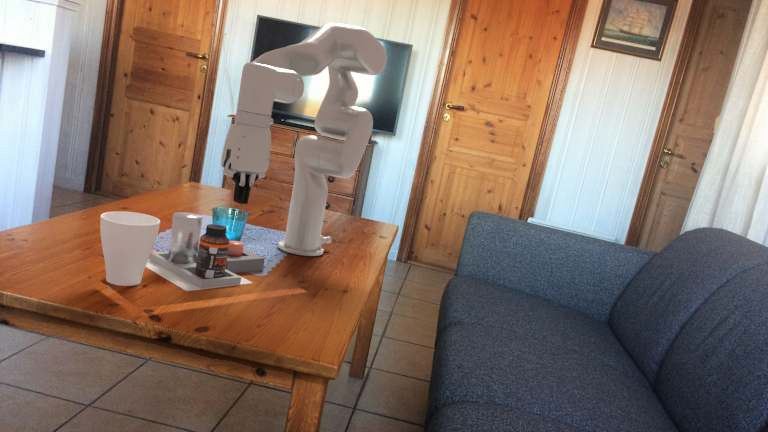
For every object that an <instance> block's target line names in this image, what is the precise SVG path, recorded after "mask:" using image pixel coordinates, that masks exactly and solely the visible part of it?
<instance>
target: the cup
mask: <svg viewBox="0 0 768 432" xmlns="http://www.w3.org/2000/svg"><path fill="white" fill-rule="evenodd" d="M99 217H100V220H99V223H100V225H99V230H100V231H99V232H100V240H101V248H102V253H103V258H104V265H105V280H106V282H107V283H109V284H110V285H115V286H122V287H123V286H124V287H129V286H130V287H132V286H137V285H140V284H141V283H142V278H143V274H144V272H145V269H146V268H147V267H146V264H147V261H148V259H150V257H151V253H153V250H154V246H155V244H156V240H157V238H158V235H159V230H160V225H161V220H160V219H159V218H158V217H156V216H153V215H150V214H146V213H141V212H133V211H117V210H116V211H106V212H103V213H101V214H100V216H99ZM105 286H106V287H107V288H108V289H110V290H114V289H113V288H112V287H111V286H109V285H107V284H106V285H105Z"/></svg>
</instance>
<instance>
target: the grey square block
mask: <svg viewBox="0 0 768 432" xmlns="http://www.w3.org/2000/svg"><path fill="white" fill-rule="evenodd" d="M265 259H266V258H265V257H263V256H261V255H259V254H257V253H255V252H252V251H250V250H248V249H247V248H243V255H242V256H239V257H230V256H228V255H227V261H226V268H225V269H226V270H228V271H230V272H232V273H235V274H237V273H239V274H240V273H246V272H257V271H258V272H259V271H264V266H265Z"/></svg>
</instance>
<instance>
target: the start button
mask: <svg viewBox="0 0 768 432" xmlns="http://www.w3.org/2000/svg"><path fill="white" fill-rule="evenodd" d="M244 246H245V243H244V242H242V241H238V240H229V248H228V254H227V255H228V256H230V257H239V256H242V255H243V248H244ZM244 249H245V248H244Z"/></svg>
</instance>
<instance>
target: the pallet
mask: <svg viewBox="0 0 768 432" xmlns="http://www.w3.org/2000/svg"><path fill="white" fill-rule="evenodd" d="M168 253H169V251H164V252H163V251H161V252H160V251H159V252H151V255H150V257H149V259H148V261H147V264H146V267H145V268H147V269H149V270H150V271H152V272H154V273H155V274H157V275H158V276H160V277H162V278H163V279H165V280H167V281H168V282H170V283H172V284H174V285H175V286H177V287H179V288H180V289H182V290H183V291H185V292H191V291H192V292H193V291H199V290H207V289H215V288H225V287H226V288H227V287H231V286H232V287H233V286H241V285H250V284H253V283H254V282H252V281H250V280H248V279H247V278H245V277H243V276H240V275H239V274H237V273H232V272H230V271H228V270H226V269H225V274H224V277H222V278H212V279H201V278H200V277H198V276H196V275H195V270H196V263H197V262H196V263H188V264H174V263H173V262H171V261H169V260H168ZM197 256H198V255H197Z"/></svg>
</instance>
